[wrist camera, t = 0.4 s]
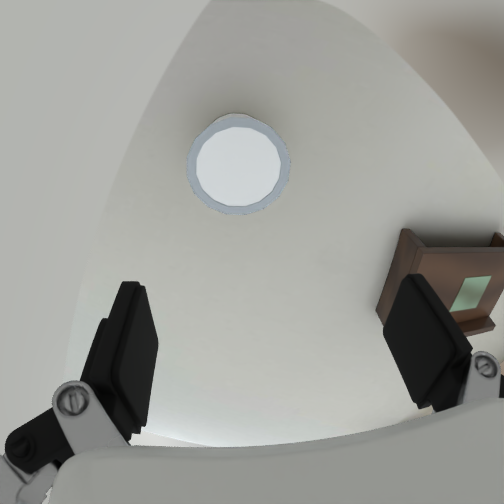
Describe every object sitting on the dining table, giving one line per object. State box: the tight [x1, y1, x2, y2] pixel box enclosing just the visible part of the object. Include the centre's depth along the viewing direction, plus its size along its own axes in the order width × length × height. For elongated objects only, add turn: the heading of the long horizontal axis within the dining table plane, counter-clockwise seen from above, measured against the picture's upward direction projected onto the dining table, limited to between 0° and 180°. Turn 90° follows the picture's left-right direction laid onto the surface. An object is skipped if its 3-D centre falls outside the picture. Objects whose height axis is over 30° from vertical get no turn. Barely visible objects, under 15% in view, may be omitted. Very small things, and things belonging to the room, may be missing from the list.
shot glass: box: [187, 113, 291, 215], centre depth 23 cm, size 7×7×7 cm
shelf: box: [376, 229, 504, 337], centre depth 32 cm, size 12×18×7 cm, turn 87°
